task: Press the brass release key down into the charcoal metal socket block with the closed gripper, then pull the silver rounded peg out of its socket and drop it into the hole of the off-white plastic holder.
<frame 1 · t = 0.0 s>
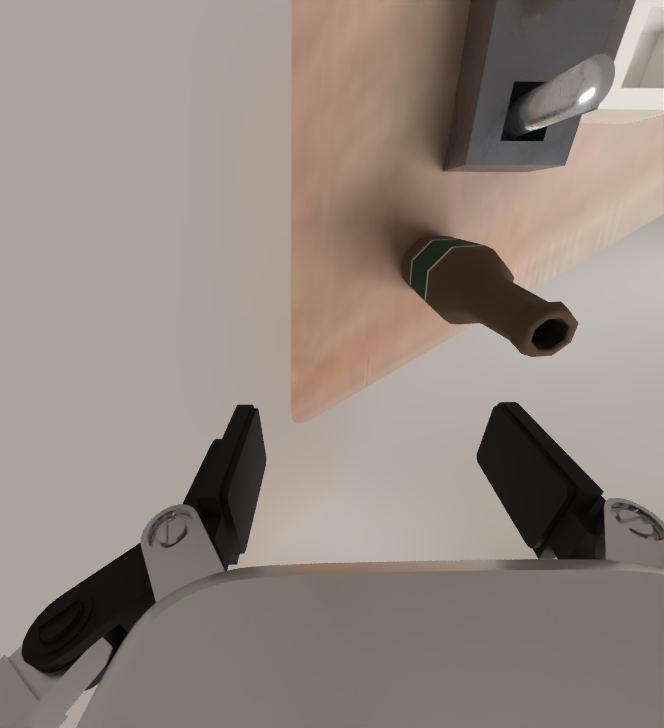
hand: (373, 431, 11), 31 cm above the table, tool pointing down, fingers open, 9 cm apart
socket block: (507, 72, 29), on the table
silver rounded peg: (500, 125, 30), point 1 cm above the table, touching socket block
beer bottle: (427, 264, 38), on the table
bit holder: (612, 73, 29), on the table
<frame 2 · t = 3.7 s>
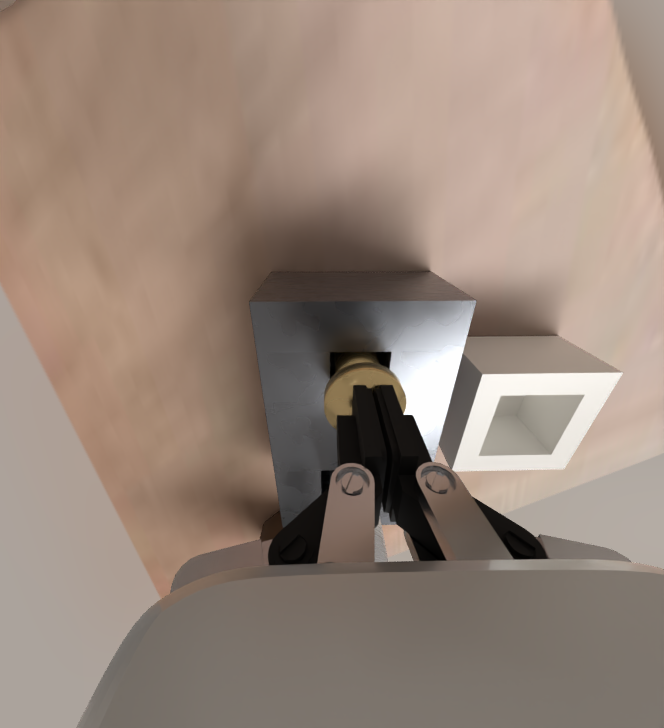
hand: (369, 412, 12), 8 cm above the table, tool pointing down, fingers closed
release key: (357, 369, 15), point 5 cm above the table, slide at 1.5 cm, touching gripper
socket block: (347, 384, 22), on the table
silver rounded peg: (347, 436, 23), point 1 cm above the table, touching socket block
beer bottle: (297, 525, 31), on the table
bit holder: (487, 383, 22), on the table
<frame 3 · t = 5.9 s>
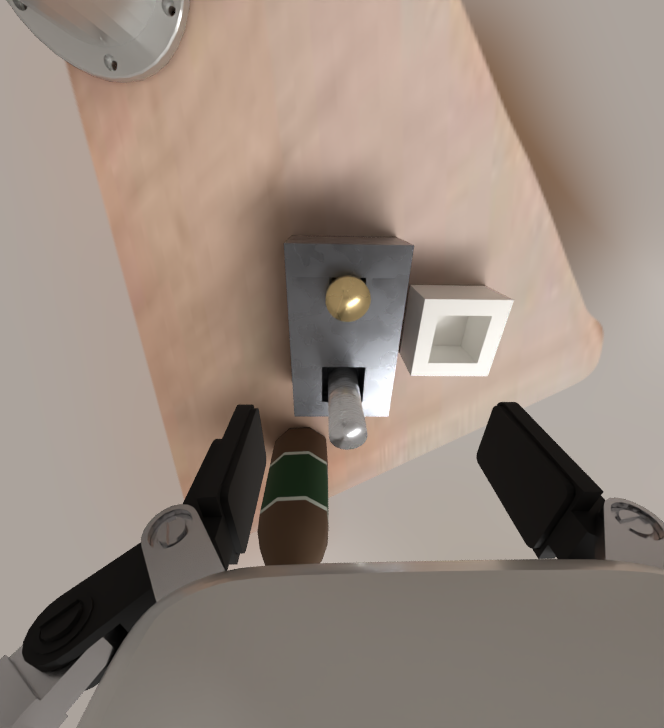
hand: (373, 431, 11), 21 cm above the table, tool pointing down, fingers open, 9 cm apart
release key: (345, 289, 25), point 4 cm above the table, slide at 2.5 cm, touching socket block
socket block: (341, 320, 31), on the table
silver rounded peg: (340, 360, 32), point 1 cm above the table, touching socket block
beer bottle: (302, 444, 40), on the table
bit holder: (440, 321, 31), on the table
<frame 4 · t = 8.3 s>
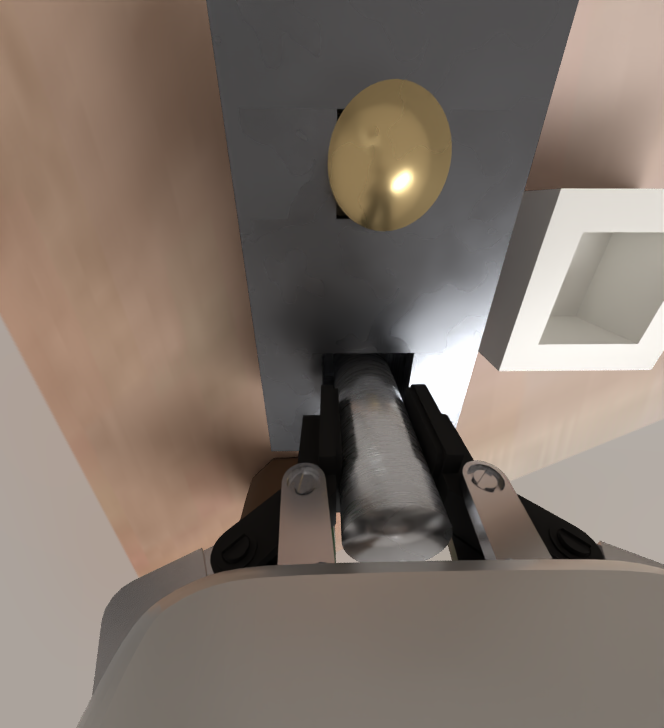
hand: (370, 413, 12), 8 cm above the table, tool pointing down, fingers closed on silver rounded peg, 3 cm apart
release key: (373, 174, 11), point 4 cm above the table, slide at 2.5 cm, touching socket block
socket block: (357, 271, 17), on the table
silver rounded peg: (356, 346, 18), point 1 cm above the table, touching gripper, socket block
beer bottle: (294, 481, 26), on the table
bit holder: (539, 271, 17), on the table
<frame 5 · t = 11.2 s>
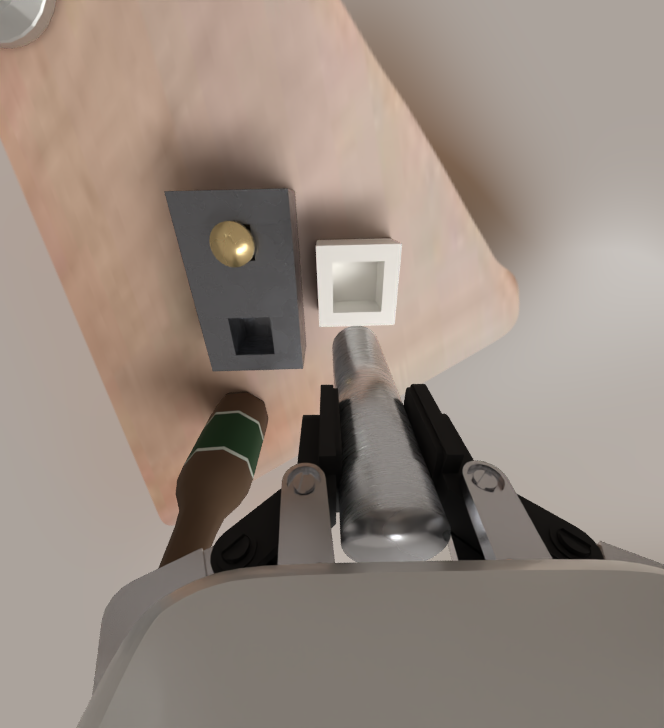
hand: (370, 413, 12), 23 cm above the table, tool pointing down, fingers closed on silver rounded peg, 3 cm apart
release key: (241, 240, 26), point 4 cm above the table, slide at 2.5 cm, touching socket block
socket block: (257, 279, 32), on the table
silver rounded peg: (355, 347, 18), point 17 cm above the table, touching gripper
beer bottle: (243, 410, 42), on the table
bit holder: (353, 276, 32), on the table
when the fingers open (9 cm above the table, at t = 14.3 s): silver rounded peg drops 1 cm, resting on bit holder.
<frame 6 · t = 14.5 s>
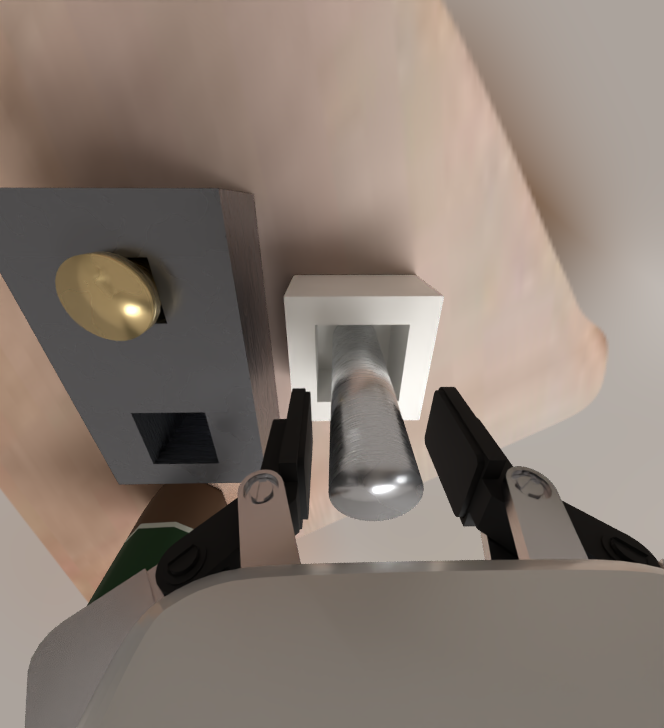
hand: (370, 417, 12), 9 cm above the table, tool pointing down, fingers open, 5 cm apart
release key: (147, 282, 14), point 4 cm above the table, slide at 2.5 cm, touching socket block
socket block: (199, 332, 20), on the table
silver rounded peg: (354, 337, 19), point 1 cm above the table, touching bit holder
beer bottle: (194, 499, 30), on the table
bit holder: (352, 331, 20), on the table
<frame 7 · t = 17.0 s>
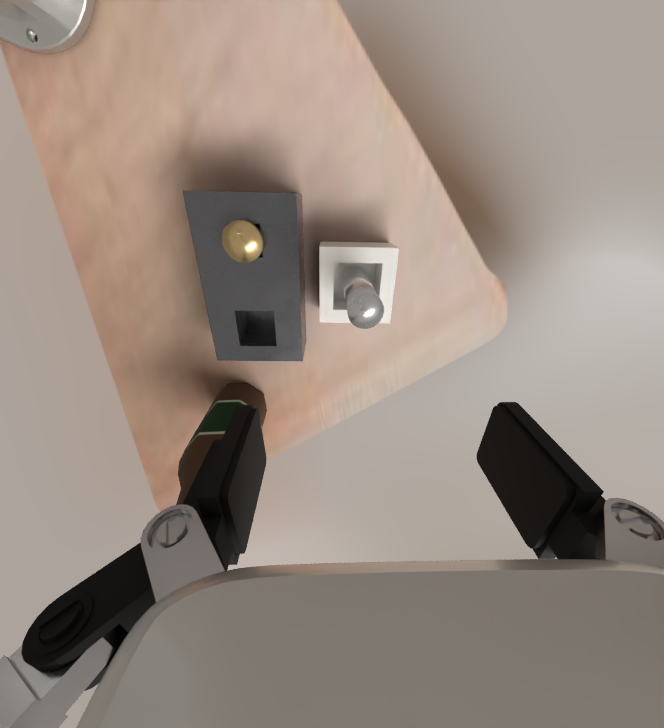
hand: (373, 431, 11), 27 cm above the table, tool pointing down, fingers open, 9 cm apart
release key: (250, 238, 28), point 4 cm above the table, slide at 2.5 cm, touching socket block
socket block: (263, 276, 34), on the table
silver rounded peg: (354, 279, 34), point 1 cm above the table, touching bit holder
beer bottle: (243, 400, 43), on the table
bit holder: (353, 277, 34), on the table
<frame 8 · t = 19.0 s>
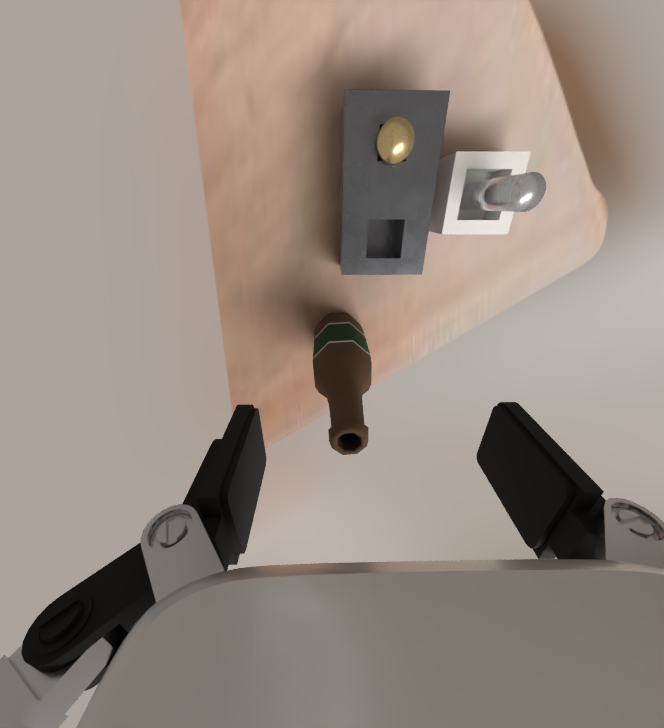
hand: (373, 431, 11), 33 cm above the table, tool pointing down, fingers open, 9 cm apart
release key: (389, 146, 30), point 4 cm above the table, slide at 2.5 cm, touching socket block
socket block: (379, 196, 36), on the table
silver rounded peg: (468, 196, 35), point 1 cm above the table, touching bit holder
beer bottle: (338, 333, 45), on the table
bit holder: (464, 196, 36), on the table
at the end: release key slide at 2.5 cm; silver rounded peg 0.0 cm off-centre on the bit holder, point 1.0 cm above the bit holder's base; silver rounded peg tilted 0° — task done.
